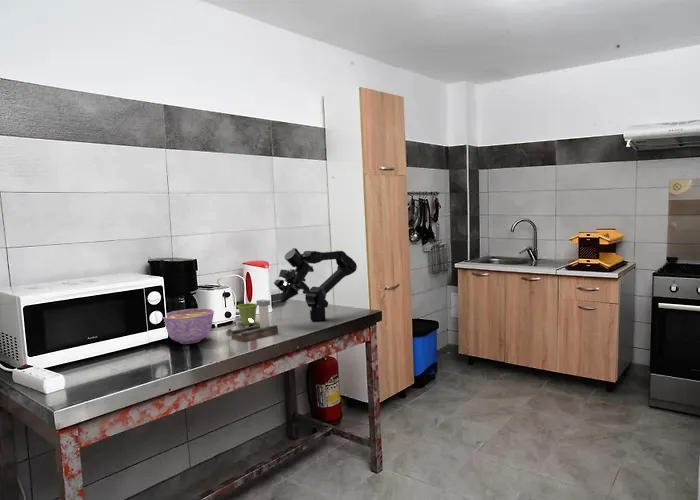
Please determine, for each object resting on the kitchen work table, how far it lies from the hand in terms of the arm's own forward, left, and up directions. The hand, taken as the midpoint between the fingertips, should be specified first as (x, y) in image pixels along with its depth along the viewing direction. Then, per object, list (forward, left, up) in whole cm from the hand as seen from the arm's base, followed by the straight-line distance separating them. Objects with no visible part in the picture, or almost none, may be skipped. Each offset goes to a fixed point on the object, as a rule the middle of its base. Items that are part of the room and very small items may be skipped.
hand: (281, 302), depth 219 cm
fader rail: (+12, +8, -12) cm, 19 cm away
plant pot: (+15, -18, -12) cm, 26 cm away
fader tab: (+8, +5, -9) cm, 14 cm away
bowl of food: (+38, +8, -12) cm, 41 cm away
